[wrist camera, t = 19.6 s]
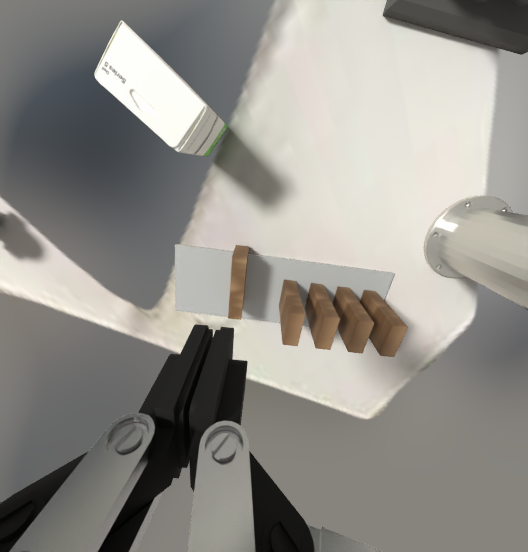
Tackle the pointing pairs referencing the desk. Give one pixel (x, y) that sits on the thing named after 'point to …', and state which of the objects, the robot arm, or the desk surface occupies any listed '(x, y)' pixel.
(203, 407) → the robot arm
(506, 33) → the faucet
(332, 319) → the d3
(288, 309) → the d4
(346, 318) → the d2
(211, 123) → the ink box
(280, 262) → the runner mat
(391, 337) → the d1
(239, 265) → the domino
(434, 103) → the desk surface
